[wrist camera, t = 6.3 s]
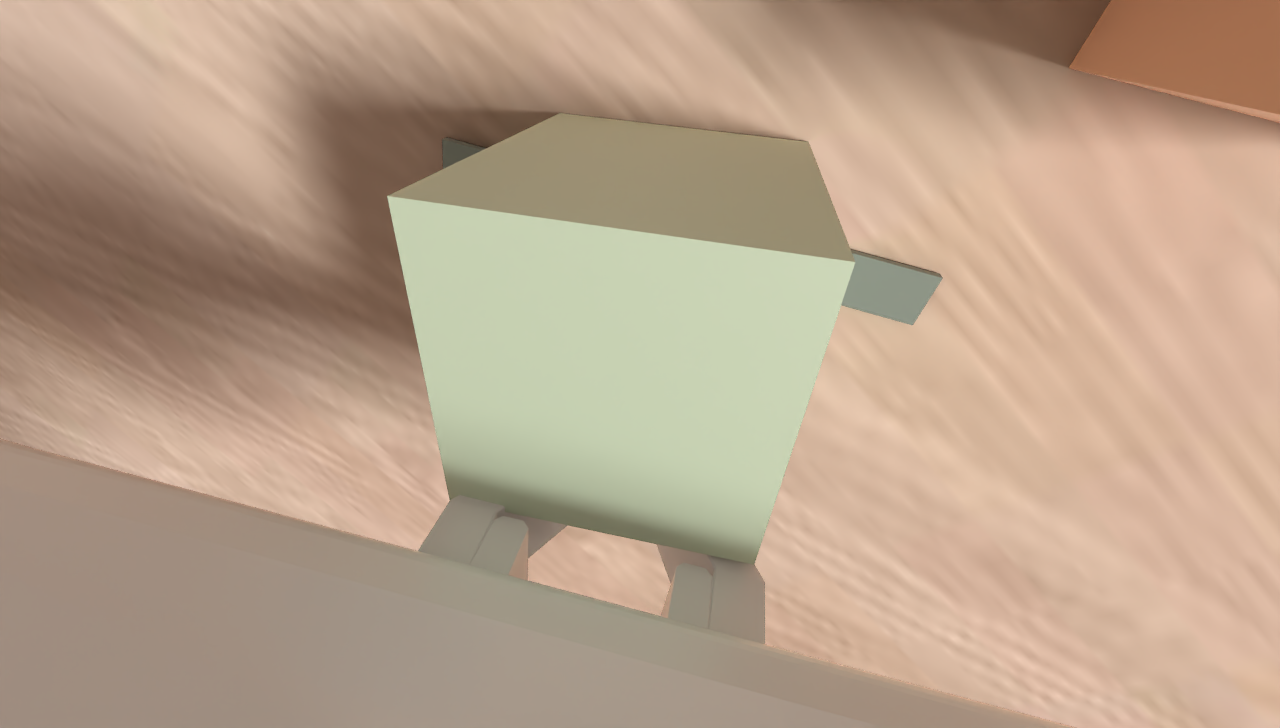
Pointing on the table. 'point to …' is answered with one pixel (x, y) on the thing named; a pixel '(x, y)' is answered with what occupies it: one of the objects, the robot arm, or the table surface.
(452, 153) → the small gray-green block
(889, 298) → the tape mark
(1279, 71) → the terracotta block
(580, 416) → the sage block
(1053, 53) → the table surface
